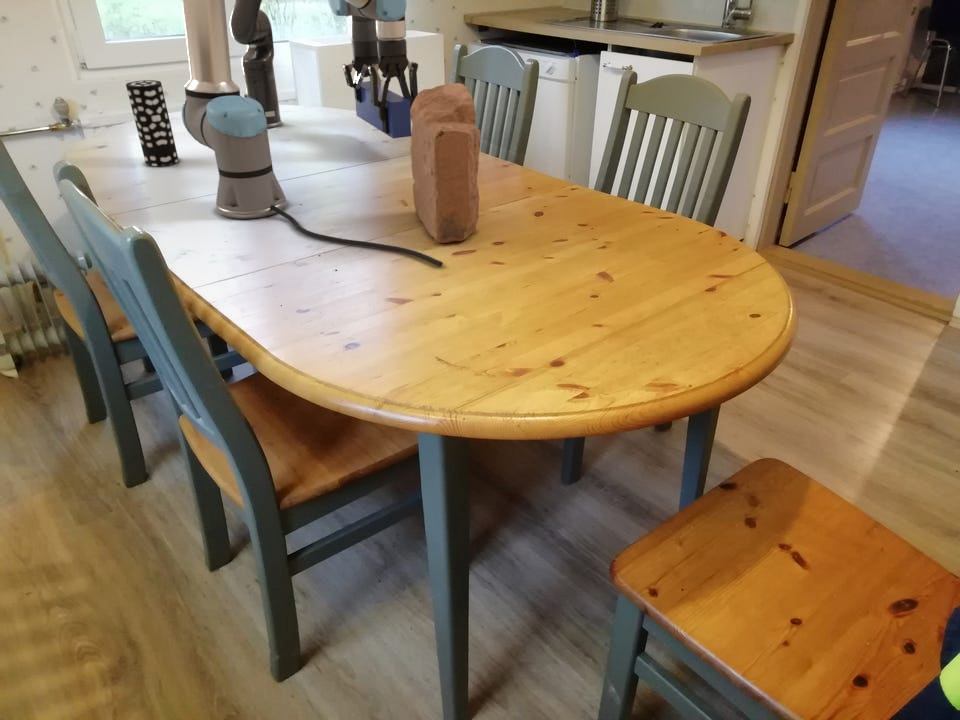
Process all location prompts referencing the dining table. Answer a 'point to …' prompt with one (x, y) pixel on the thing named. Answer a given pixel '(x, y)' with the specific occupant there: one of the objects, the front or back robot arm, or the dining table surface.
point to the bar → (396, 112)
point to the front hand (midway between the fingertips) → (396, 130)
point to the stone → (445, 161)
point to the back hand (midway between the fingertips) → (369, 100)
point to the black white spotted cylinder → (152, 122)
